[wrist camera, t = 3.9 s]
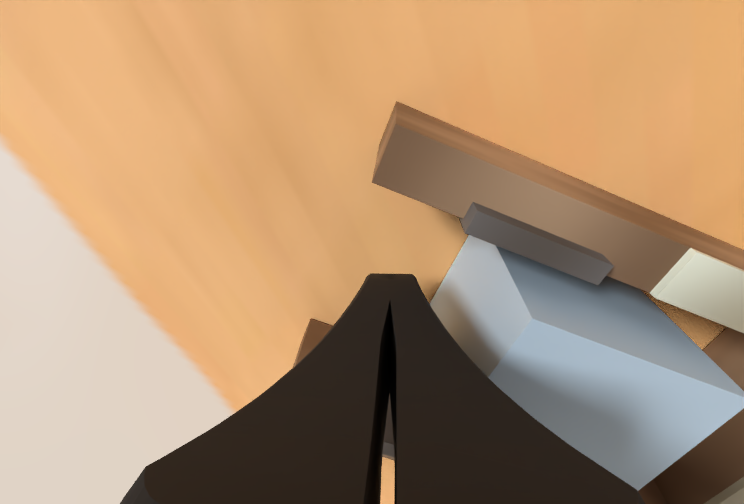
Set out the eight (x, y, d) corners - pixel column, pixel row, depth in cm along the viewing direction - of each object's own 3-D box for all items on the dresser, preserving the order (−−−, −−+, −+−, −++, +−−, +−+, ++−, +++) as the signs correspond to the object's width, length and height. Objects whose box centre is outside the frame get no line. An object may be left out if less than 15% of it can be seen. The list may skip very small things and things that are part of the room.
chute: (821, 283, 12) (1001, 382, 8) (626, 451, 16) (692, 566, 12) (396, 101, 10) (395, 128, 7) (301, 342, 14) (269, 439, 11)
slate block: (622, 272, 12) (753, 400, 8) (534, 377, 14) (595, 524, 10) (480, 214, 11) (532, 318, 7) (411, 334, 14) (418, 469, 9)
